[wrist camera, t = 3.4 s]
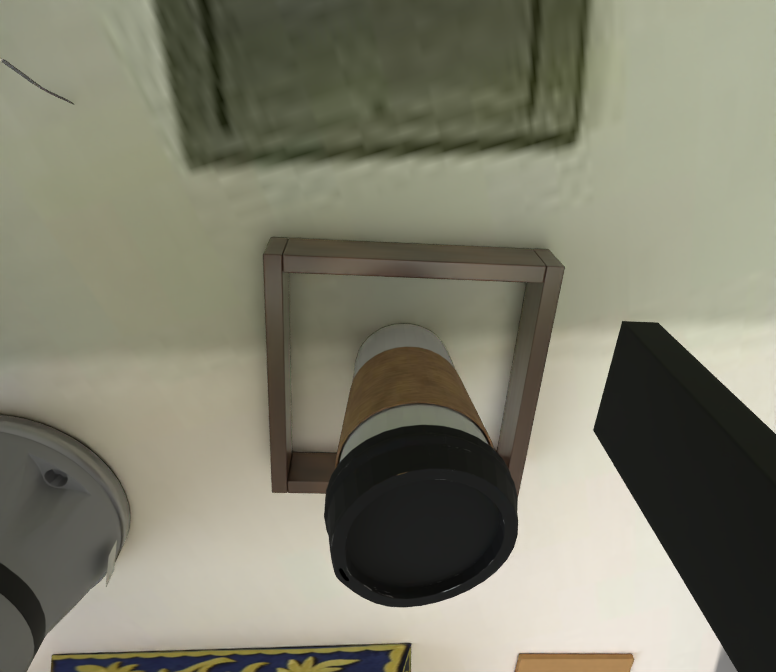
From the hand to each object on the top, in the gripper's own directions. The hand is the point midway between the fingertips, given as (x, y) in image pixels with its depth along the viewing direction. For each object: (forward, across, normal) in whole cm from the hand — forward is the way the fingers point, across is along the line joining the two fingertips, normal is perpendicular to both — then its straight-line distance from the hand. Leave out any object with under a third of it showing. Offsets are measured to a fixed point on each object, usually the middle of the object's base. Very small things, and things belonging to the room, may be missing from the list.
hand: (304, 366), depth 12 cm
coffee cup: (+22, +4, -12) cm, 25 cm away
